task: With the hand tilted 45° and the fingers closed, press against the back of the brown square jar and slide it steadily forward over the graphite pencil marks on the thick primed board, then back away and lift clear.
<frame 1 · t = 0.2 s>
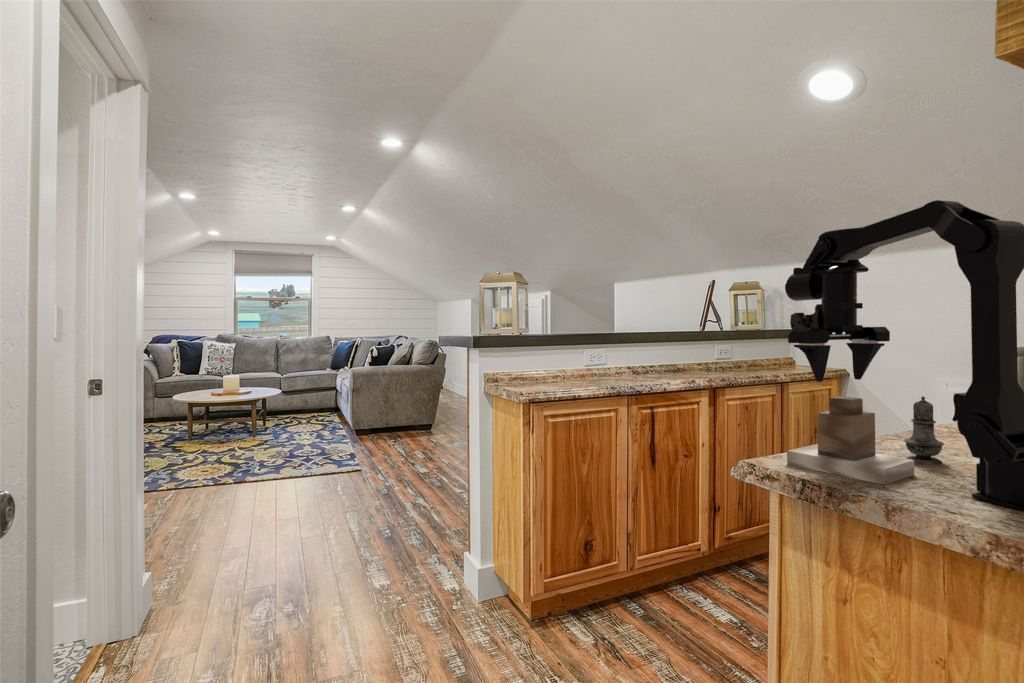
hand: (838, 380, 100), 15 cm above the countertop, tool pointing down, fingers open, 9 cm apart
brown square jar: (846, 454, 92), point 3 cm above the countertop, touching board
salt shaker: (923, 462, 97), on the countertop
board: (847, 469, 92), on the countertop
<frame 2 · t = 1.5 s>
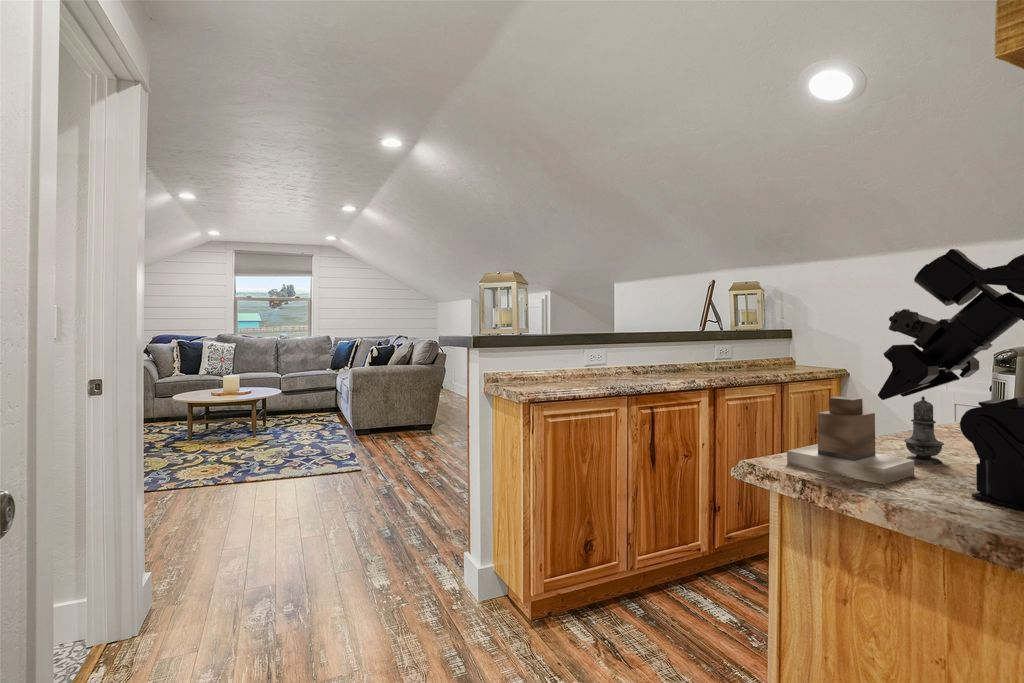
hand: (890, 396, 86), 14 cm above the countertop, tool tilted 45°, fingers open, 6 cm apart
nothing on the countertop moved.
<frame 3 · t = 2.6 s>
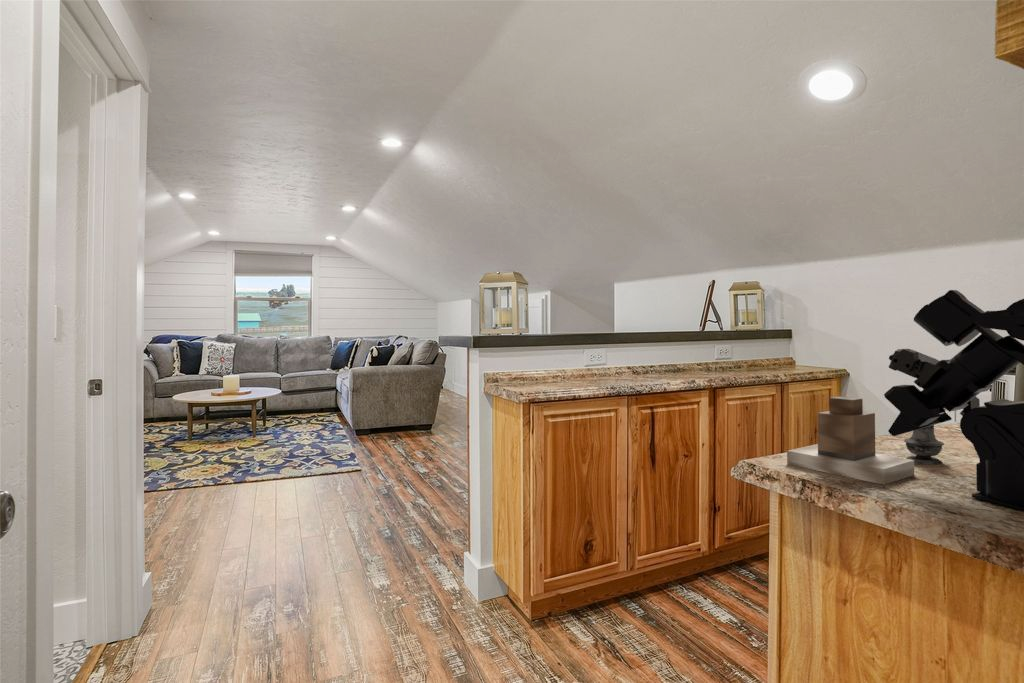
hand: (891, 433, 86), 7 cm above the countertop, tool tilted 45°, fingers closed
nothing on the countertop moved.
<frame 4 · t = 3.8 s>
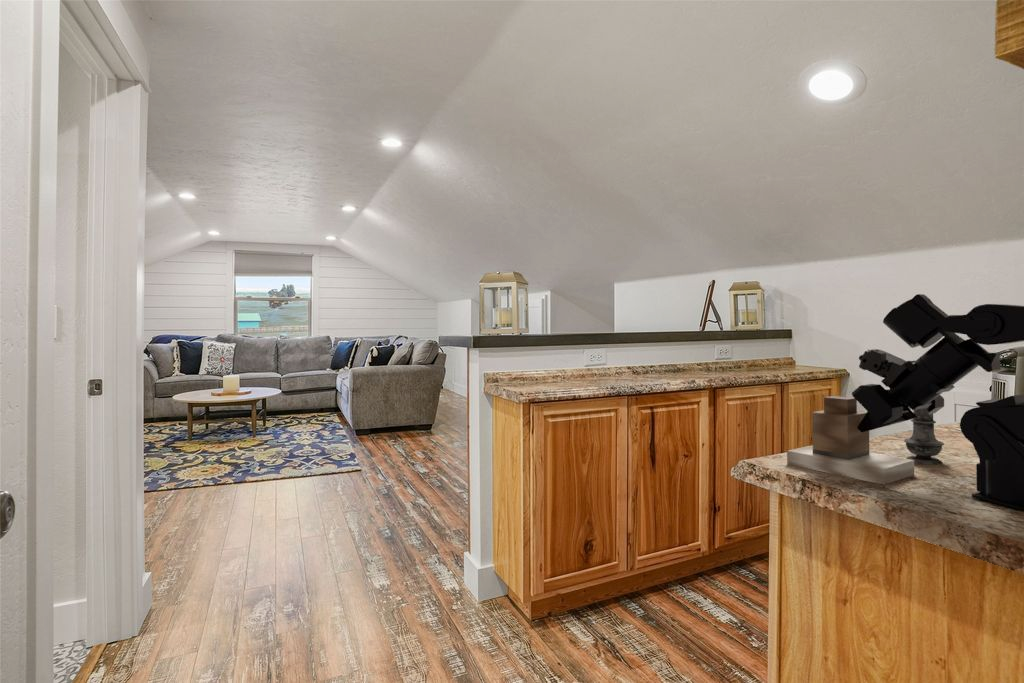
hand: (860, 430, 90), 7 cm above the countertop, tool tilted 45°, fingers closed, pressing on brown square jar
brown square jar: (840, 453, 93), point 3 cm above the countertop, touching board, gripper
everything else where it was.
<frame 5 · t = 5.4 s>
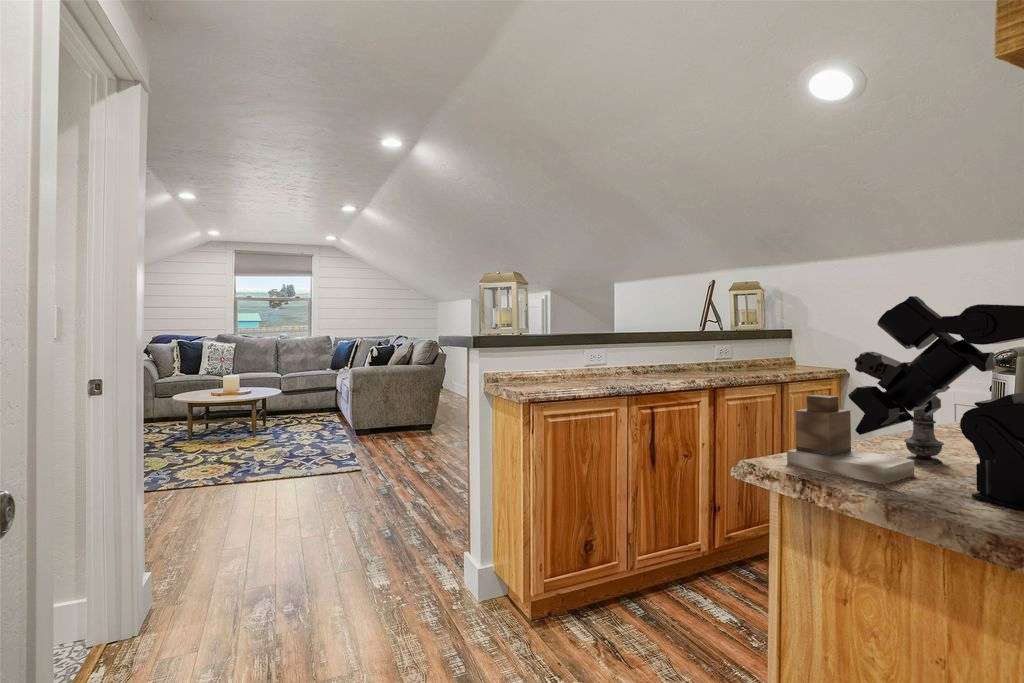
hand: (858, 432, 91), 7 cm above the countertop, tool tilted 45°, fingers closed
brown square jar: (823, 450, 96), point 3 cm above the countertop, touching board
everything else where it was.
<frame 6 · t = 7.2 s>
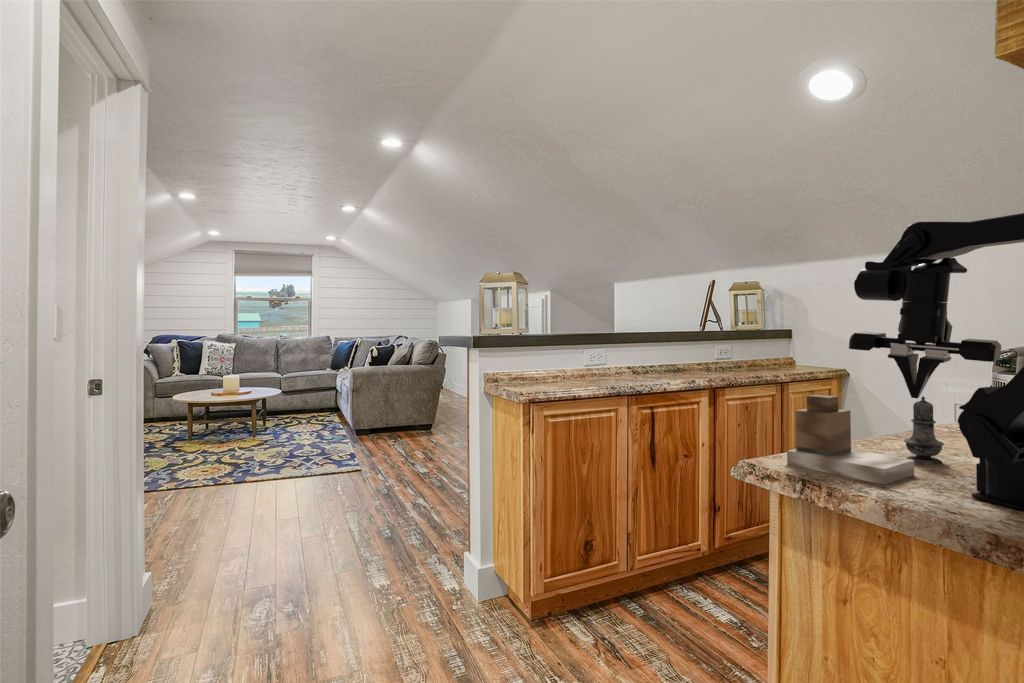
hand: (915, 397, 86), 13 cm above the countertop, tool pointing down, fingers closed
nothing on the countertop moved.
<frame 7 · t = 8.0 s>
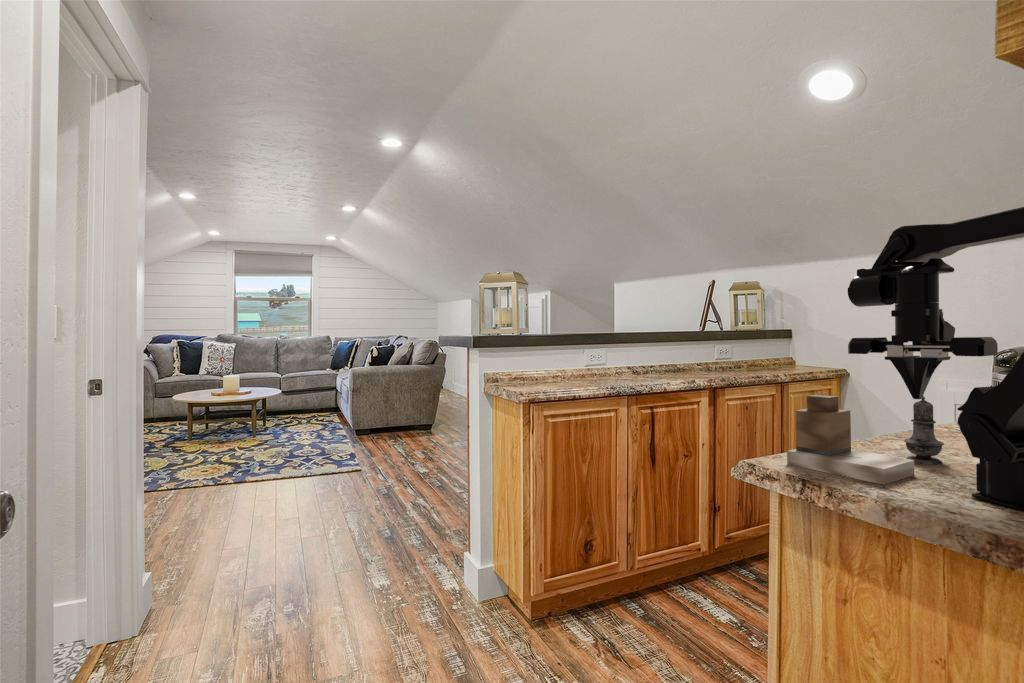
hand: (917, 399, 86), 13 cm above the countertop, tool pointing down, fingers closed
nothing on the countertop moved.
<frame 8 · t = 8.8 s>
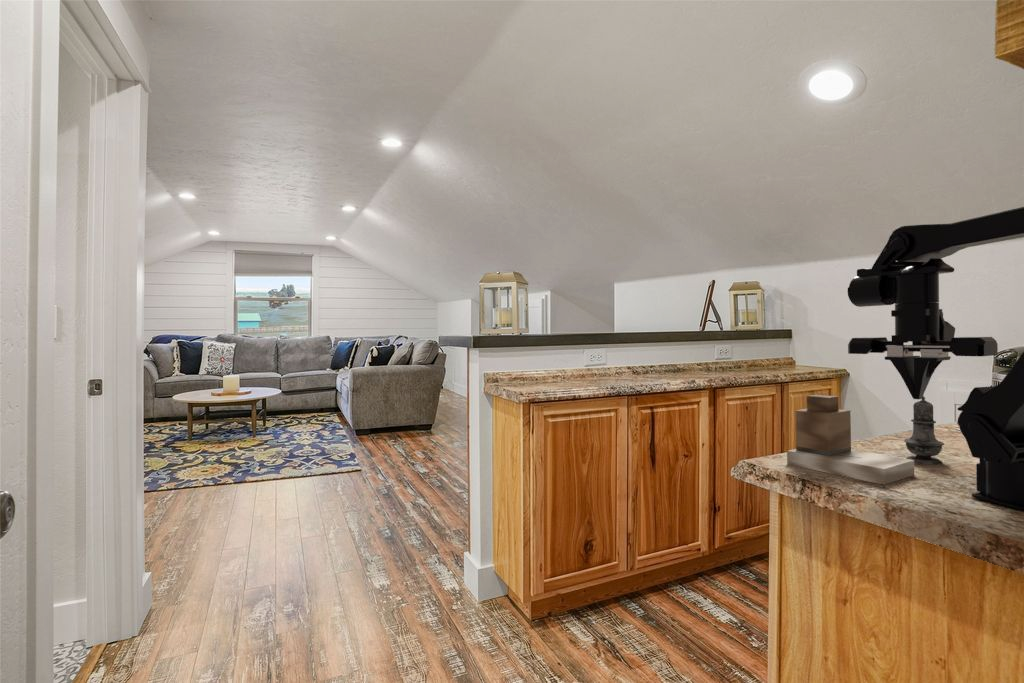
hand: (917, 399, 86), 13 cm above the countertop, tool pointing down, fingers closed
nothing on the countertop moved.
at the end: brown square jar moved 4.0 cm from its start; brown square jar 0.3 cm from the target spot on the board, point 2.5 cm above the board's base; brown square jar tilted 0° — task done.
